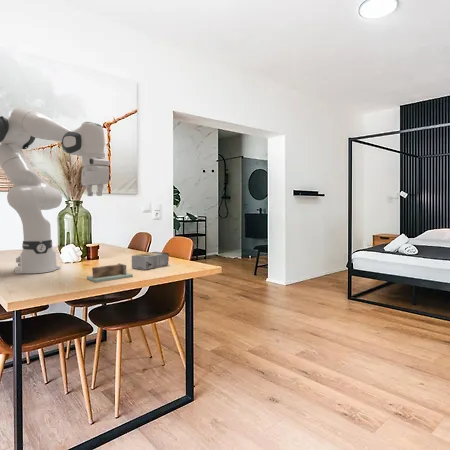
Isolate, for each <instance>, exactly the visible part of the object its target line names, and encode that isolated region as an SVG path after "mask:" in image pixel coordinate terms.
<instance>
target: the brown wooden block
mask: <svg viewBox="0 0 450 450" xmlns="http://www.w3.org/2000/svg"><path fill="white" fill-rule="evenodd" d="M91 269H92V276H93V278H100V277H107V276H114V275H121V274H124V275H126V273H127V264H123V263H117V264H109V265H101V266H95V267H94V266H93V267H92V268H91Z"/></svg>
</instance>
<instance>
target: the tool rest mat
mask: <svg viewBox="0 0 450 450" xmlns="http://www.w3.org/2000/svg"><path fill="white" fill-rule="evenodd" d="M133 276H134V275H133V273H129V272H126V275H124V274H121V275H114V276H107V277H100V278H93V275H89V276H86V280H89V281H91V282H94V283H101V282H107V281H113V280H121V279H126V278H127V279H129V278H133Z"/></svg>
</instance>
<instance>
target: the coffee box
mask: <svg viewBox="0 0 450 450" xmlns="http://www.w3.org/2000/svg"><path fill="white" fill-rule="evenodd" d="M169 256H170V255H169V253H168V252H162V251H153V252H147V253H139V254H133V255H132V256H131V269H136V270H144V271H145V270H151V269H155V268H161V267H165V266H169Z"/></svg>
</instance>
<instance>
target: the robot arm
mask: <svg viewBox="0 0 450 450" xmlns="http://www.w3.org/2000/svg"><path fill="white" fill-rule="evenodd" d="M36 139H39V140H40V139H41V140H46V141H47V140H48V141H55V142H61V146H62V149H63V150H64V152H65V153H67V154H69V155H72V156H76V157H77V156H78V157H81V160H82V161H81V162H82V163H81V165H82V167H83V168H82V169H81V177H80V182H81V185H82V186H85V189H86V193H87V194H86V195H87V197H93V196H94V194H93V193H94V192H93V189H92V188H93V186H96V188H97V189H96V190H97V191H96V196H97V197H102V195H103V191H104V190H103V189H104V185H108V184H109V180H110V169H109V166H110V165H111V163H110V160H109V159H108V158H106V154H105V151H104V150H105V145H106V143H105V141H106V140H105V131H104V128H103V126H102V125H101V124H99V123H97V122H96V123H95V122H91V121H84V122H82V123H81V125H80V126H79V127H78V128H76V129H74V130H72V129H70V128H68V127H66V126H64V125H63V124H61V123H59V122H57V121H56V120H54V119H52V118H50V117H49V116H47V115H45V114H43V113H41V112H39V111H37V110H35V109H31V108H28V107H23V106H19V107H16V108H14V109H13V110H12V112H11V113H10V116H9V117H4V116H3V115H1V116H0V167H1V169H2V170H3V172H4V174H5V176H6V177H7V178H8V180H9V182H10V183H11V184H12V185H13V187H11V188H10V189H9V190H8V191H7V195H6V199H7V203H8V205H9V206H10V207H11V209H14V211H16V213H17V214H18V216H19V218H20V220H21V224H22V231H23V232H22V233H23V235H22V236H23V241H22V244H21V245H22V248H21V249H22V251H21V252H20V254H19V256H18V257H16V258H15V263H17V266H15V267H14V274H41V273H43V274H44V273H50V272H53V271H56V270H59V269H61V266H60V265H57V264H58V263H57V254H56V253H57V252H56V251H55V250H54V249H53V240H52V236H51V234H52V231H51V227H52V226H51V223H50V221H49V220H48V219H46V218H45V217H44V216H43V213H42V211H48V210H52V209H53V210H54V209H56V208H58V207H60V205H61V203H62V202H63V196H62V193H61V192H60V190H59V189H58V188H56V187H53V186H52V185H50V184H49V183H48V182H47V181H46V180H44V179H43V178H42V177H41V176H40V175H38V173H37V172H36V171H35V169H34V168H33V167H32V165H31V163H30V162H29V160H28V159H27V158H26V156H25V154H24V153H23V150H27V149H29V147H30V146H31V145H32V144H34V142H35V140H36Z"/></svg>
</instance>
